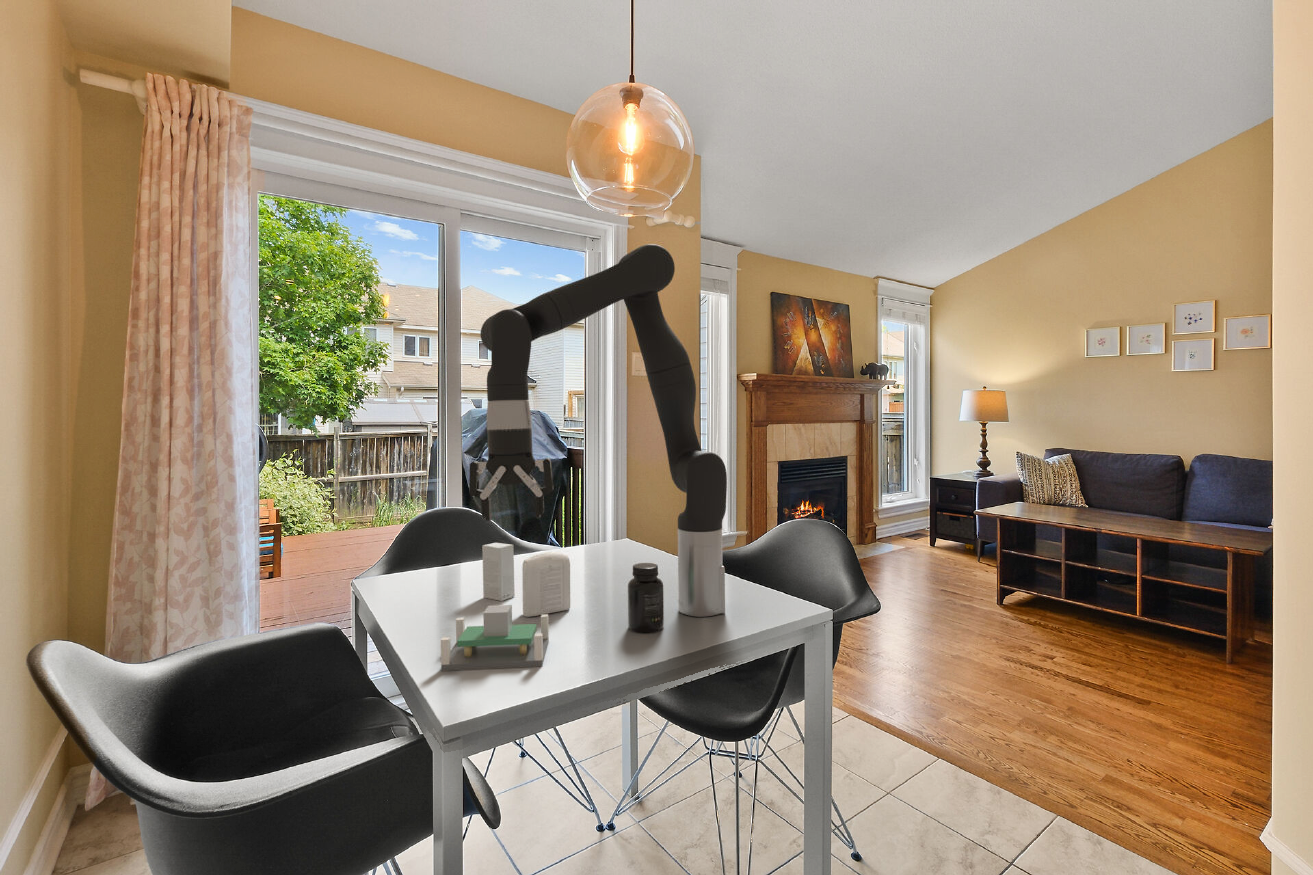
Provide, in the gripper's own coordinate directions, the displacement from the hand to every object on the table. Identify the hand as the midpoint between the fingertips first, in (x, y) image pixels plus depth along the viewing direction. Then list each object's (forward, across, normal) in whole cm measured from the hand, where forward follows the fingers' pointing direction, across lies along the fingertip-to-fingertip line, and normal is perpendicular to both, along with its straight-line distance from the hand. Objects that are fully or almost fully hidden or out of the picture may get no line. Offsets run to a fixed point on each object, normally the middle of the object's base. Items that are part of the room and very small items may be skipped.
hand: (513, 518), depth 107 cm
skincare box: (+23, +8, -31) cm, 40 cm away
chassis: (+23, +3, +4) cm, 23 cm away
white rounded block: (+23, -3, -19) cm, 30 cm away
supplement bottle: (+24, -23, -7) cm, 34 cm away
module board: (+20, +3, +4) cm, 20 cm away
